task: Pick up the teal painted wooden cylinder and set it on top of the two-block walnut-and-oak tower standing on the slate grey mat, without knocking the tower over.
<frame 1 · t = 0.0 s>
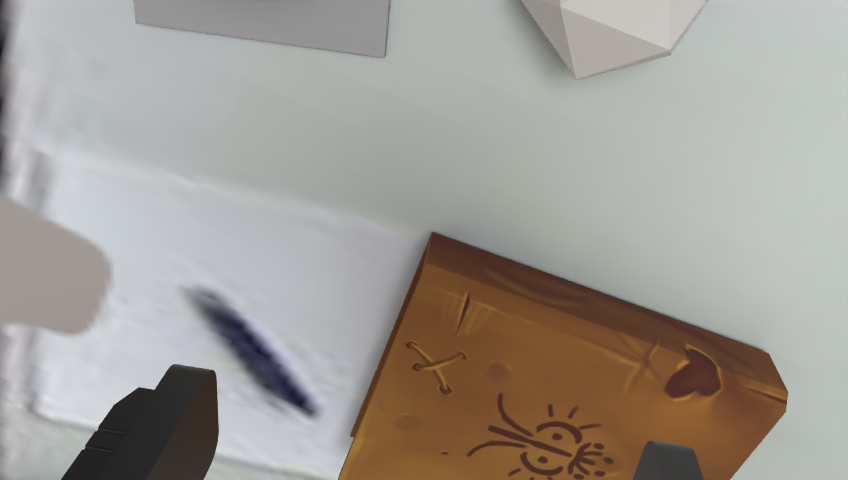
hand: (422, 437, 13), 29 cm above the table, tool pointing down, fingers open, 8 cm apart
diary: (542, 386, 50), on the table
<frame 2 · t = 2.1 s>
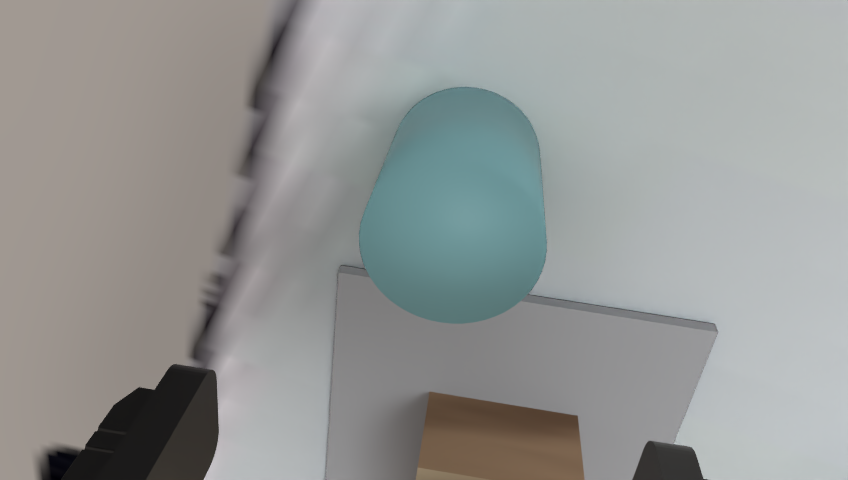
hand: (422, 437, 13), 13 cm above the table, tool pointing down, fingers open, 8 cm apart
walnut block: (491, 456, 30), resting on slate mat, touching oak block
teal cylinder: (465, 159, 24), on the table
slate mat: (491, 447, 30), on the table
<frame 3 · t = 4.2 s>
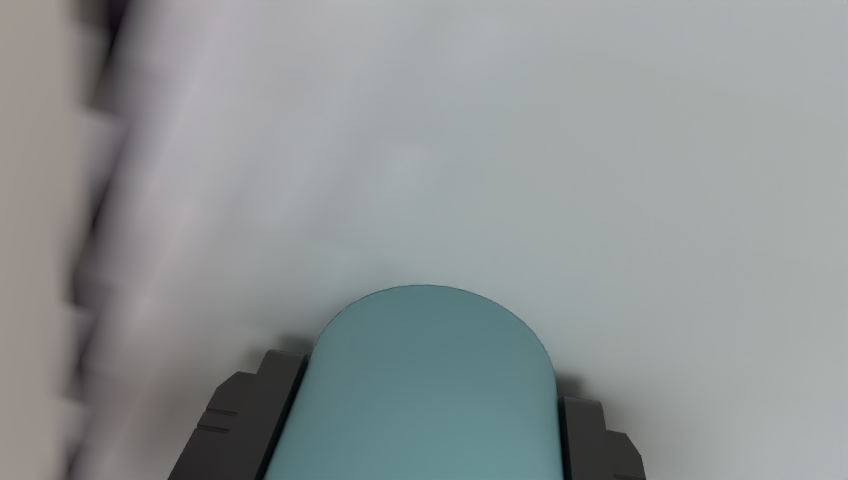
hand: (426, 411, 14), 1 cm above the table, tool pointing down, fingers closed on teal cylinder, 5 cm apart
teal cylinder: (430, 389, 14), on the table, touching gripper
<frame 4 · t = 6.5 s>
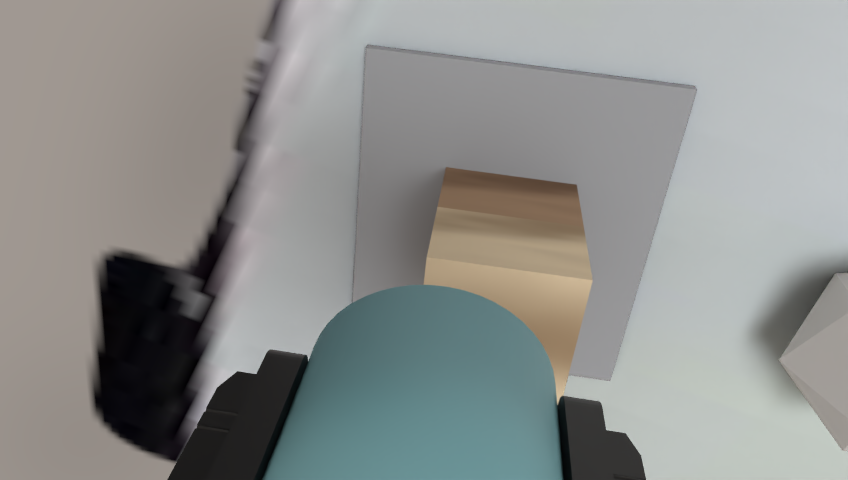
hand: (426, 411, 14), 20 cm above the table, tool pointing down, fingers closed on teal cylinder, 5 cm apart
walnut block: (501, 232, 34), resting on slate mat, touching oak block
teal cylinder: (430, 389, 14), point 19 cm above the table, touching gripper
slate mat: (501, 227, 34), on the table
oak block: (499, 277, 31), point 4 cm above the table, touching walnut block
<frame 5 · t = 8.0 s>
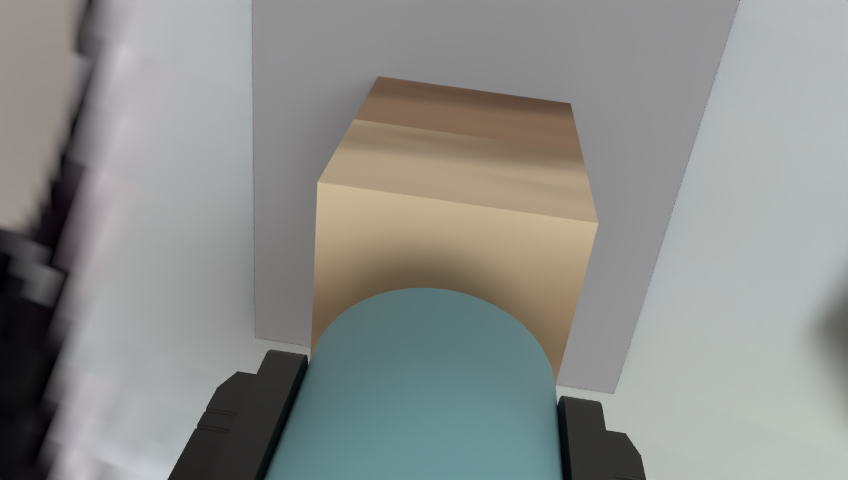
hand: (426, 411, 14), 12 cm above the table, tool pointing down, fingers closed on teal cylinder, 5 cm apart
walnut block: (460, 177, 23), resting on slate mat, touching oak block
teal cylinder: (430, 391, 14), point 11 cm above the table, touching gripper
slate mat: (461, 171, 24), on the table
oak block: (452, 235, 20), point 4 cm above the table, touching walnut block
when the fingers open (11 cm above the table, at t = 9.0 s): teal cylinder drops 1 cm, resting on oak block.
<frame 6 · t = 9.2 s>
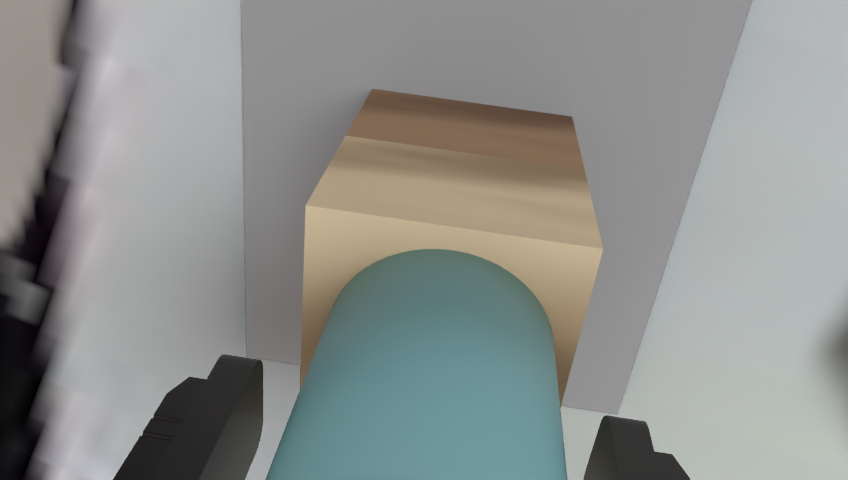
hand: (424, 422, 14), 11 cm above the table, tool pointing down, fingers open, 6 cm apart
walnut block: (458, 192, 23), resting on slate mat, touching oak block
teal cylinder: (438, 348, 16), point 9 cm above the table, touching oak block
slate mat: (459, 186, 23), on the table
oak block: (449, 255, 19), point 4 cm above the table, touching teal cylinder, walnut block
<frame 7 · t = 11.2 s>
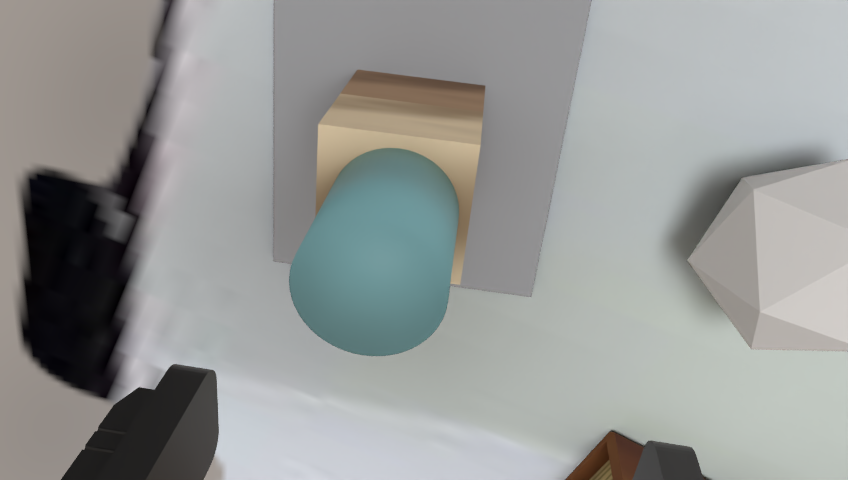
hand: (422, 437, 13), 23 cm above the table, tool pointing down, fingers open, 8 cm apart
walnut block: (415, 138, 34), resting on slate mat, touching oak block
teal cylinder: (394, 209, 27), point 8 cm above the table, touching oak block
slate mat: (416, 135, 35), on the table
die: (771, 218, 35), on the table
oak block: (405, 169, 31), point 4 cm above the table, touching teal cylinder, walnut block
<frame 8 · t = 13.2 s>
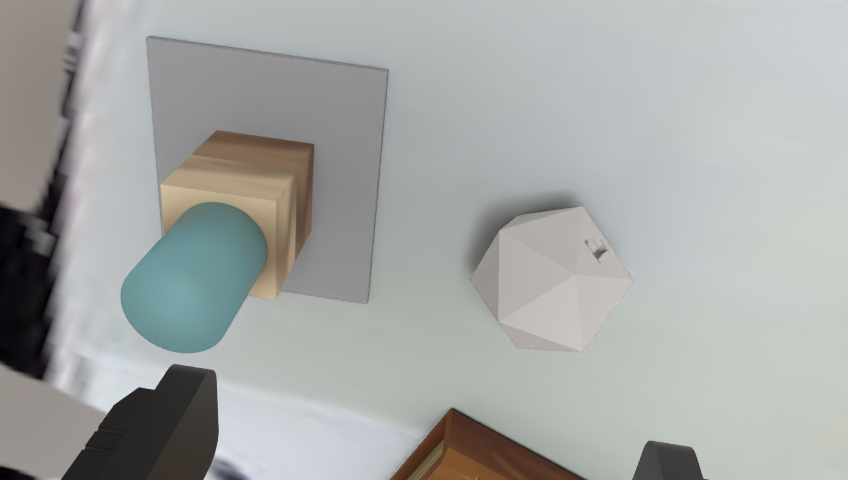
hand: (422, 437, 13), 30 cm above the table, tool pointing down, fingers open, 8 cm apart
walnut block: (265, 181, 44), resting on slate mat, touching oak block
teal cylinder: (221, 244, 37), point 8 cm above the table, touching oak block
slate mat: (268, 178, 45), on the table
die: (545, 246, 45), on the table
oak block: (244, 210, 41), point 4 cm above the table, touching teal cylinder, walnut block
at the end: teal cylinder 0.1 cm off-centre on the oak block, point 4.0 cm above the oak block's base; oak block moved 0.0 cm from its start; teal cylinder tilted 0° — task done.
